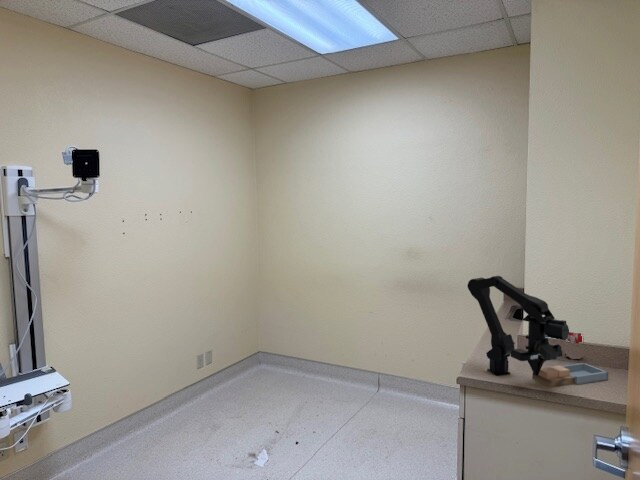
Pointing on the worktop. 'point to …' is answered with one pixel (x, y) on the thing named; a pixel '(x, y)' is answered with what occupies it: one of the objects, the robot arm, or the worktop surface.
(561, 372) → the tile
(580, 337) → the soda can
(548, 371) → the tile
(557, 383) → the bench board
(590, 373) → the box
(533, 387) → the worktop surface
